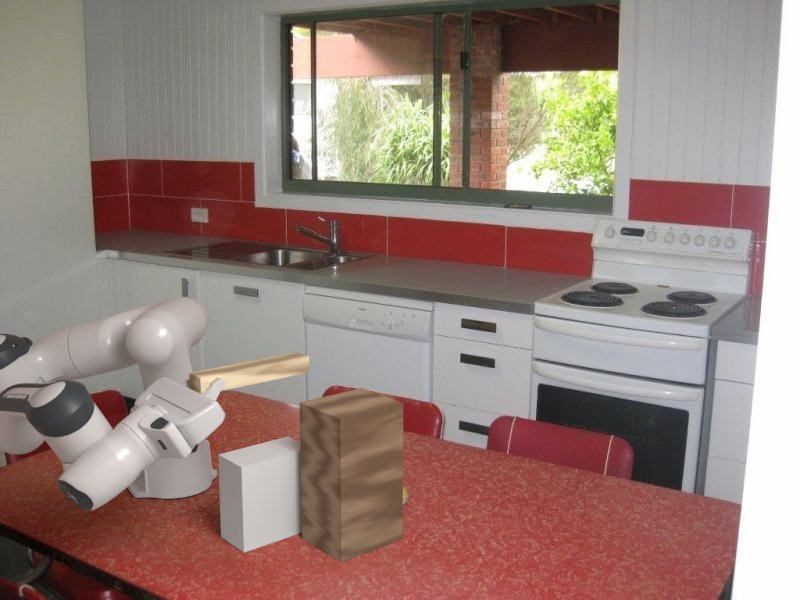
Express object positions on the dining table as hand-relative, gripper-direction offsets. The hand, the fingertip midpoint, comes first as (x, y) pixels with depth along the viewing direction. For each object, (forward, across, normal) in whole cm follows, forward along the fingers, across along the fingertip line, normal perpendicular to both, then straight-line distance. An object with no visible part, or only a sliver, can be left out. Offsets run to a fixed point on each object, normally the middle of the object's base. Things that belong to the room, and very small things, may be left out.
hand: (214, 377), depth 159 cm
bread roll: (+15, +2, -46) cm, 49 cm away
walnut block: (+2, +12, -38) cm, 40 cm away
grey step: (-7, 0, -33) cm, 33 cm away
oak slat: (+5, 0, -5) cm, 7 cm away
